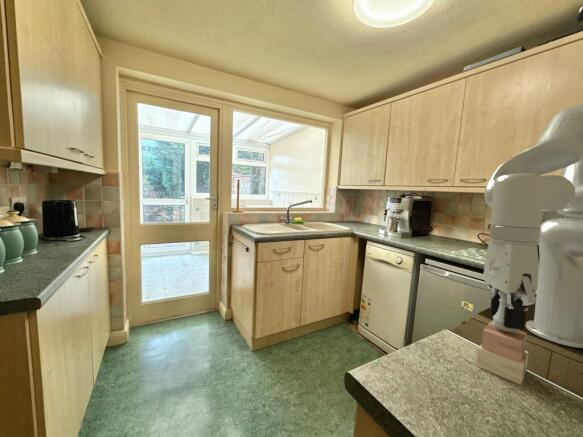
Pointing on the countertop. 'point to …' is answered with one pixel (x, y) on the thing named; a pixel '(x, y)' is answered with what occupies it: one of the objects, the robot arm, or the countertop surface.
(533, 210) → the robot arm
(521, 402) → the countertop surface
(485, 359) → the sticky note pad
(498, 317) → the rook chess piece
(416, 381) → the countertop surface
